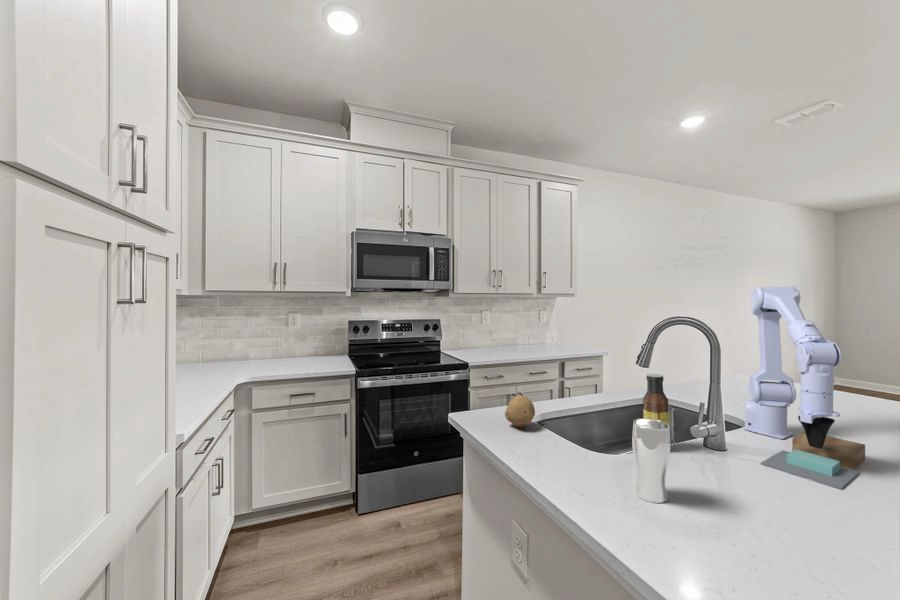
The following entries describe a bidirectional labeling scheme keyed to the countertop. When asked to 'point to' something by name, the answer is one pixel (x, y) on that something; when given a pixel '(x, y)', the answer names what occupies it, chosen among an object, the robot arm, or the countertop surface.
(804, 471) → the mat
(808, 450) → the block
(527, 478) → the countertop surface
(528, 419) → the tan round lump
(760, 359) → the robot arm
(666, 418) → the sauce bottle
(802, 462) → the tile
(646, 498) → the beer glass
